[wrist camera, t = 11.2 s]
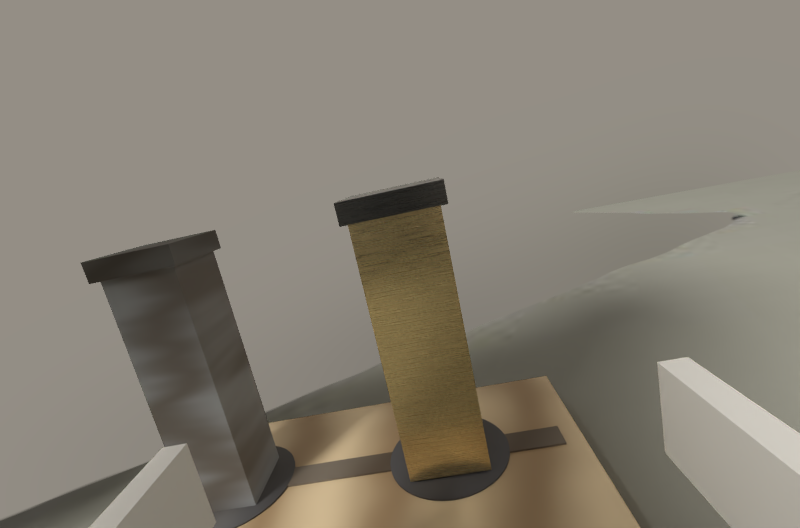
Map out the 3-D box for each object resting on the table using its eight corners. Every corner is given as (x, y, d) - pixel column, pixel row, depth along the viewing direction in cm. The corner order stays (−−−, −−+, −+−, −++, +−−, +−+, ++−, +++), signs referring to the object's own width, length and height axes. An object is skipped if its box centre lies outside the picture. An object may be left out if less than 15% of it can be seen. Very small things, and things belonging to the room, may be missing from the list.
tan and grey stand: (124, 638, 18) (-37, 293, 14) (241, 452, 29) (167, 238, 26) (647, 574, 16) (604, 155, 12) (550, 402, 27) (514, 162, 24)
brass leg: (404, 487, 20) (333, 203, 17) (407, 428, 24) (351, 196, 21) (498, 473, 19) (443, 179, 16) (483, 416, 24) (438, 177, 21)
